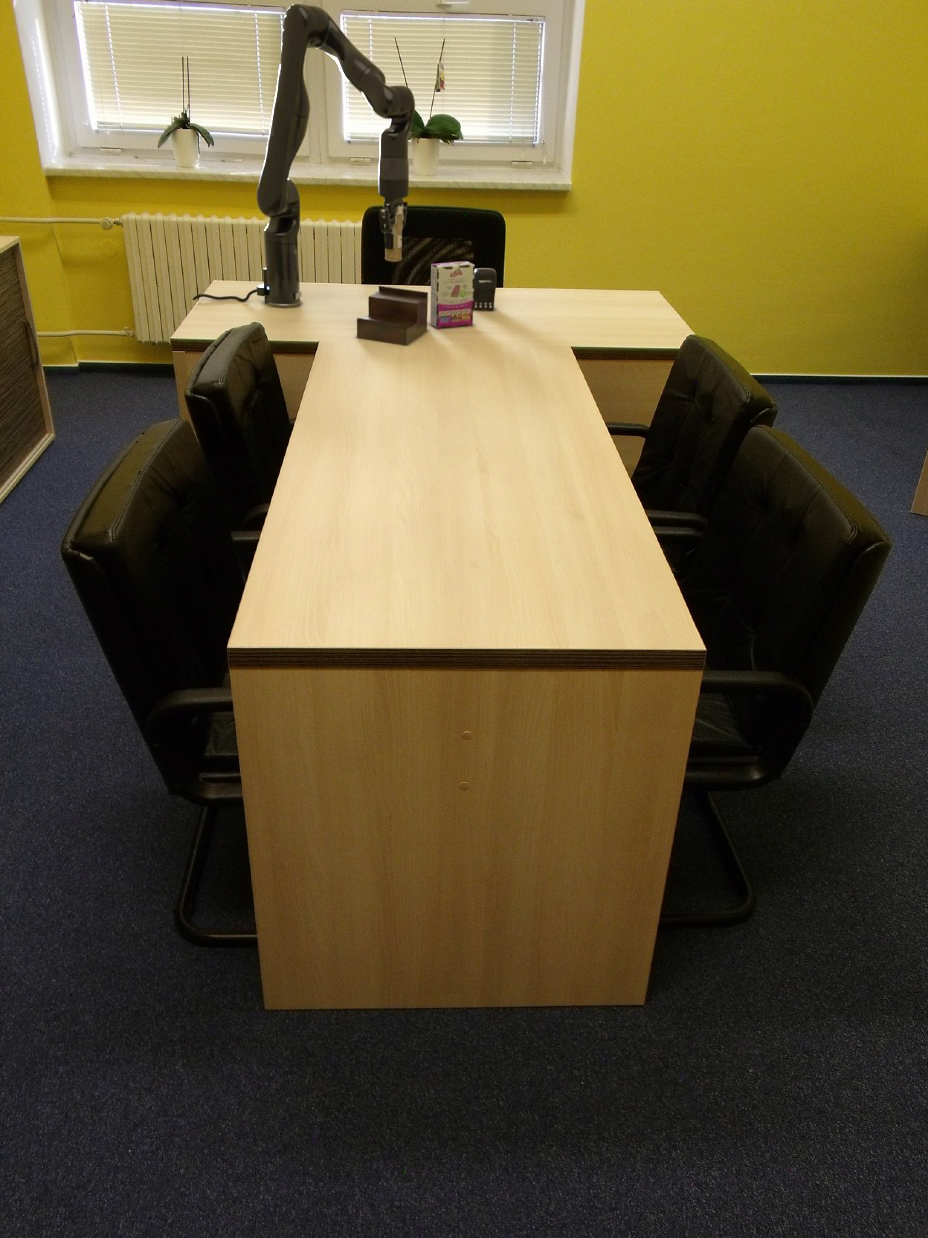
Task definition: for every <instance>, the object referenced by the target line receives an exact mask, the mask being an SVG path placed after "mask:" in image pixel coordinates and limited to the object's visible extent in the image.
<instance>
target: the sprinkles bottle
mask: <svg viewBox="0 0 928 1238" xmlns="http://www.w3.org/2000/svg"><path fill="white" fill-rule="evenodd" d="M398 206H399V212H398V213H397V216H398V218H397V224H396V225H395V228H394V248H393V249H392V250H391V249H386V248H385V247H384V260H385V261H387V262H393V263H394V262H395V263H397V262H400V261H402V259H403V256H402V255H403V254H402V251H403V250H402V249H403V248H402V246H403V232H402V231H403V229H402V213H403V207H402V206H400V205H398ZM394 212H395V209H394ZM393 220H394V219H390V221H393Z"/></svg>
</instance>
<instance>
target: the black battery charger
mask: <svg viewBox="0 0 928 1238" xmlns="http://www.w3.org/2000/svg"><path fill="white" fill-rule="evenodd" d="M497 277H498V276H497V272H496V270H495V269H494V268H489V267H488V268H487V267H486V268H485V267H479V268H475V270H474V297H473V298H474V299H473V311H474V310H475V311H493V310H494V309H495V297H496V289H497V280H498V279H497Z"/></svg>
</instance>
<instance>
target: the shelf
mask: <svg viewBox="0 0 928 1238" xmlns="http://www.w3.org/2000/svg"><path fill="white" fill-rule="evenodd" d="M367 297H368V301H367V302H368V306H367V307H368V315H367V316H365V317H356V338H357V339H362V340H369V341H376V342H380V343H381V342H382V343H388V344H394V345H400V346H407V345H409V344H410V343H412V342H413V341H414V340H416V339H417V338H419V337H420V336H421V335H423V334H424V333H426V332H427V331H428V308H429V292H428V291H421V290H414V289H407V288H400V287H393V286H392V287H391V286H384V285H379V286H378V290H377V291H376V292H374V293H372V294H370V295H368V296H367Z"/></svg>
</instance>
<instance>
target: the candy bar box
mask: <svg viewBox="0 0 928 1238" xmlns="http://www.w3.org/2000/svg"><path fill="white" fill-rule="evenodd" d="M475 269H476V268H475V264H474V263H472V262H470V261H466V260H465V261H453V262H440V263H431V264H430V315H429V316H430V317H429V319H430V320H429V321H430V322H429V323H430V325H431V326H432V327H434V328H435V329H439V330H440V329H448V328H459V327H467V326H469V327H470V326H473V323H474V322H473V321H474V309H473V299H474V298H473V297H474V270H475Z"/></svg>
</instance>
